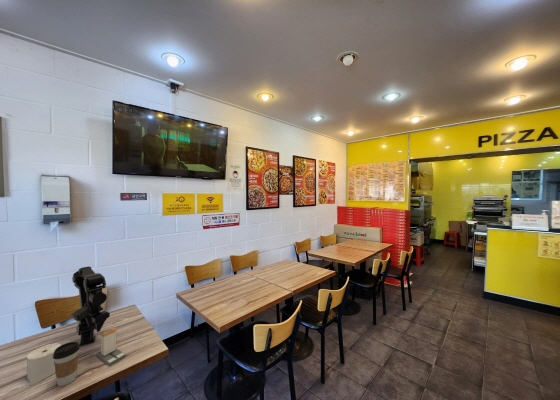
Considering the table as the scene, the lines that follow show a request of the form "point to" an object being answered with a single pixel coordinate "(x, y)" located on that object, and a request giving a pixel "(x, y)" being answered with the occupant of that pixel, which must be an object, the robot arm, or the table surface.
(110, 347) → the cream box
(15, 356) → the table surface
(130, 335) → the table surface
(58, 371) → the coffee cup
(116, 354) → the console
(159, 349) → the table surface
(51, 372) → the toilet tissue
